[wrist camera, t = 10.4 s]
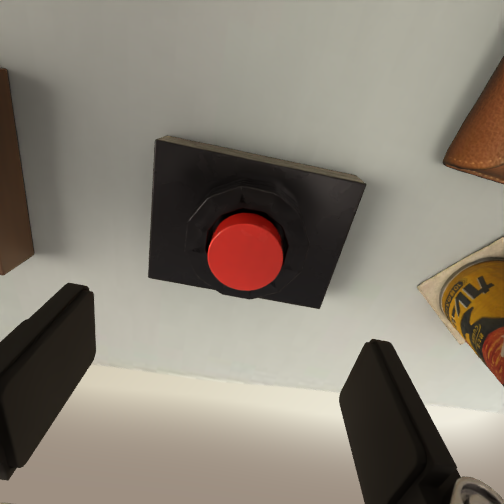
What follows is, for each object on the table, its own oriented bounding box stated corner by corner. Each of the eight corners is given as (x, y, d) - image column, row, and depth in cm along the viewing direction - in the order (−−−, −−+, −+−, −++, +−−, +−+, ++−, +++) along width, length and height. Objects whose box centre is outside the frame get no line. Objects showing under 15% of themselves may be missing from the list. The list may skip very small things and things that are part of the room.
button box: (157, 262, 22) (137, 293, 19) (165, 134, 18) (142, 143, 15) (315, 291, 23) (324, 327, 19) (356, 175, 19) (378, 192, 15)
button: (208, 268, 18) (202, 284, 17) (217, 205, 16) (212, 216, 15) (272, 280, 18) (273, 297, 17) (289, 219, 17) (291, 232, 15)
